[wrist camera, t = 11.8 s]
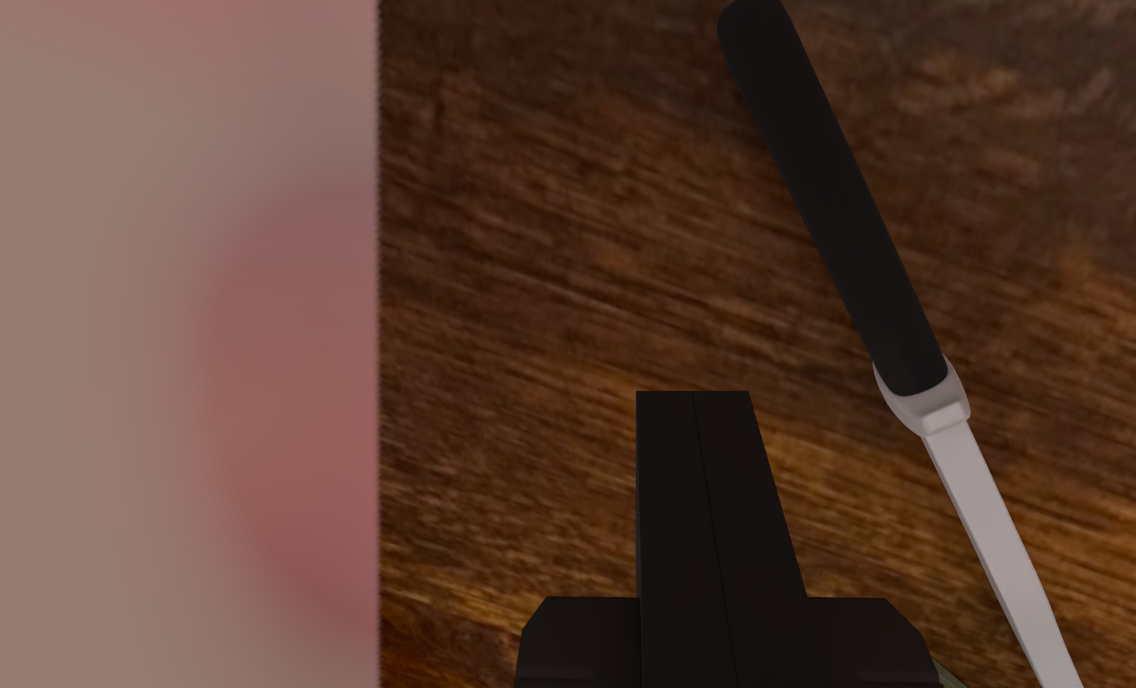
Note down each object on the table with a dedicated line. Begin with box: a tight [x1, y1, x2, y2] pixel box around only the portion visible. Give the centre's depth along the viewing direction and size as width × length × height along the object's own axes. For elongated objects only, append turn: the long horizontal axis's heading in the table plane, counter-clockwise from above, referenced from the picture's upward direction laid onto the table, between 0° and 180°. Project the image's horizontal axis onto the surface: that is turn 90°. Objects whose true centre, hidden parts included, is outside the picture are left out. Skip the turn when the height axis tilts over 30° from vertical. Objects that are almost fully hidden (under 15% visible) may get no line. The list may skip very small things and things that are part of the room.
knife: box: [717, 0, 1084, 688], centre depth 23 cm, size 25×2×5 cm, turn 30°
